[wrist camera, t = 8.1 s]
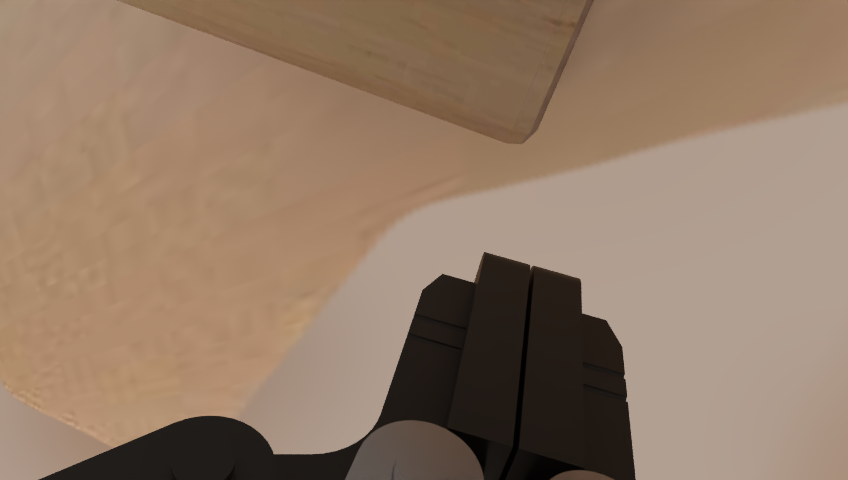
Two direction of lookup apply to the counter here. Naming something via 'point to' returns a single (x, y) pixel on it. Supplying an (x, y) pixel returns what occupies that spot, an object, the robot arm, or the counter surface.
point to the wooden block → (412, 49)
